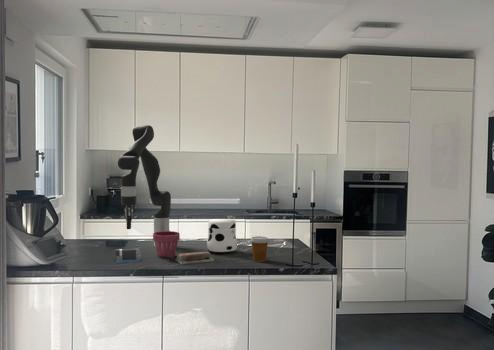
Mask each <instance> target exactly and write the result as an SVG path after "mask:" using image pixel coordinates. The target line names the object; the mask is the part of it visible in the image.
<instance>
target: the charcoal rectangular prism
mask: <svg viewBox="0 0 494 350" xmlns="http://www.w3.org/2000/svg"><path fill="white" fill-rule="evenodd" d="M116 249H117V248H116ZM116 249H115V261H117V256H122V260H136V248H125V249H124V248H118V249H117V250H116Z"/></svg>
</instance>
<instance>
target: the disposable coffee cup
mask: <svg viewBox="0 0 494 350" xmlns="http://www.w3.org/2000/svg"><path fill="white" fill-rule="evenodd" d="M250 242H251V250H252V251H251V252H252V258H253V261H254V262H257V263H258V262H259V263H264V262H265V261H266V260H267V259H266V258H267V252H268V245H269V244H268V243H269V242H270V241H269V238H268V237H267V236H260V235H259V236H252V237H251V238H250Z"/></svg>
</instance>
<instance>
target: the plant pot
mask: <svg viewBox="0 0 494 350" xmlns="http://www.w3.org/2000/svg"><path fill="white" fill-rule="evenodd" d="M180 238H181V237H180V232H178V231H172V230H170V231H160V232H155V233H154V232H153V233H152V241H153V242H154V241H155V246H156V247H155V246H154V247H155V250H156V256H158V257H162V258H163V257H164V258H165V257H167V258H168V259H173V258H174V257H176V252H177V248H178V243H179V241H180Z"/></svg>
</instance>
